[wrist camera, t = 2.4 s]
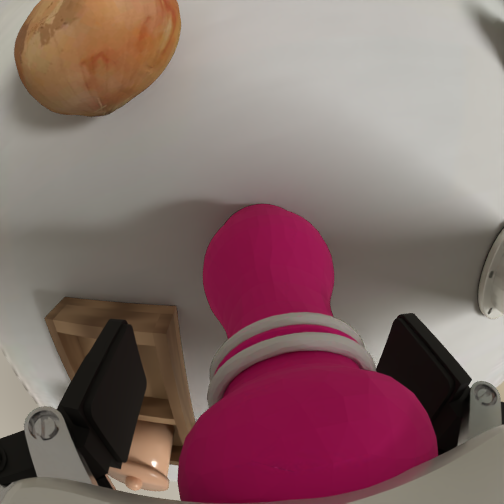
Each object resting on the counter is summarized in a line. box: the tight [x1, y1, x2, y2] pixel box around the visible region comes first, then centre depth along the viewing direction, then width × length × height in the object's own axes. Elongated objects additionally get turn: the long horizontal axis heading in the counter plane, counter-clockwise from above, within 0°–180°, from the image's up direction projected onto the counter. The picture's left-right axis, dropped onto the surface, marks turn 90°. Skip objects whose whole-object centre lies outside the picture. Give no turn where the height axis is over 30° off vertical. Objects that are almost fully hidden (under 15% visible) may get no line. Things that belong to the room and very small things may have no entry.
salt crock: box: [108, 420, 175, 491], centre depth 21 cm, size 7×7×9 cm
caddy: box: [45, 297, 195, 465], centre depth 23 cm, size 11×22×4 cm, turn 178°
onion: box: [14, 0, 181, 117], centre depth 10 cm, size 10×10×10 cm
